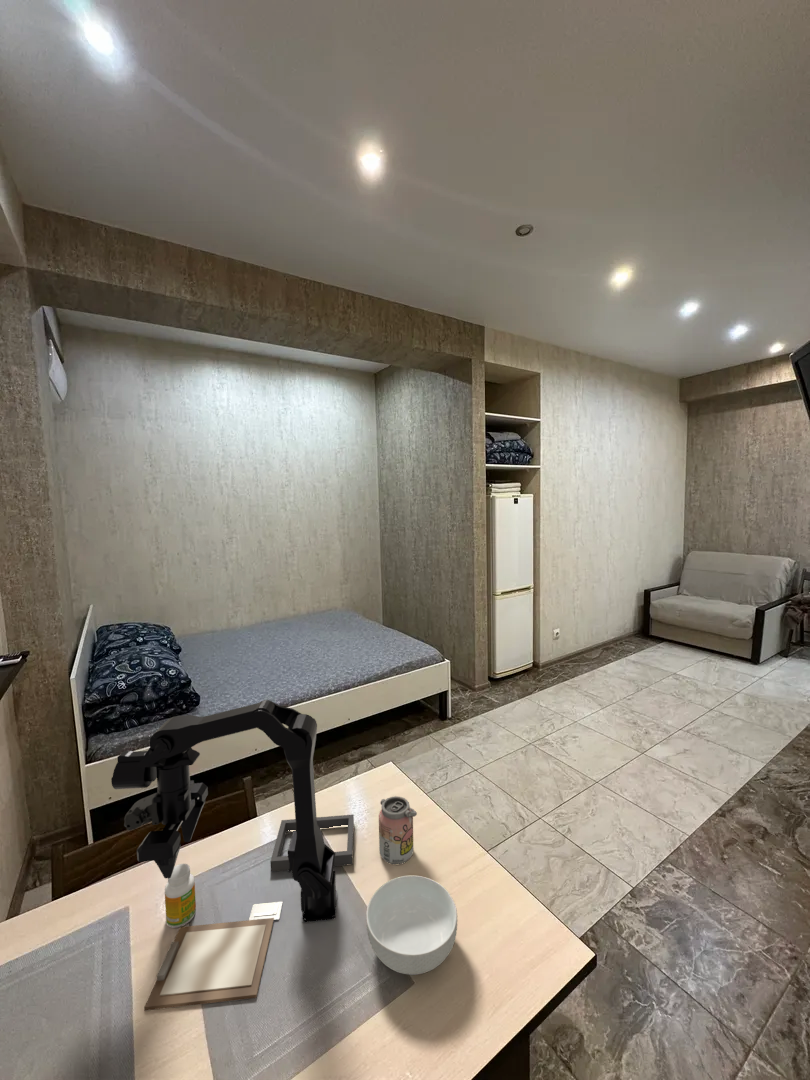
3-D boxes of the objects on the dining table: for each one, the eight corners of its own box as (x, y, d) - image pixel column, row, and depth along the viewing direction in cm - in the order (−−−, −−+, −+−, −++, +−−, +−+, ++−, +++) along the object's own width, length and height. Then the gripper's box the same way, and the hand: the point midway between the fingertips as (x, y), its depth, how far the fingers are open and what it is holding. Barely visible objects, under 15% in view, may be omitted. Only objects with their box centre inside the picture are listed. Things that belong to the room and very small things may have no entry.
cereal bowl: (465, 919, 87) (465, 886, 86) (445, 1010, 71) (445, 969, 71) (386, 896, 92) (385, 864, 92) (351, 975, 77) (350, 938, 76)
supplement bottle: (183, 931, 86) (181, 884, 85) (159, 926, 87) (157, 880, 86) (201, 906, 91) (199, 862, 90) (179, 902, 92) (176, 858, 91)
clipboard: (273, 920, 87) (273, 913, 87) (256, 997, 73) (256, 988, 73) (180, 929, 86) (179, 922, 86) (144, 1010, 72) (143, 1001, 72)
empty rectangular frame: (353, 823, 114) (353, 814, 114) (352, 864, 101) (351, 854, 101) (282, 829, 113) (281, 820, 113) (270, 871, 99) (270, 861, 99)
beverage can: (395, 832, 111) (394, 787, 110) (423, 847, 106) (422, 799, 105) (371, 856, 103) (370, 807, 103) (400, 873, 98) (399, 822, 98)
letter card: (282, 902, 91) (282, 901, 91) (279, 920, 88) (278, 918, 87) (253, 905, 91) (253, 903, 91) (248, 923, 87) (248, 921, 87)
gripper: (154, 760, 95) (158, 828, 96) (103, 820, 77) (108, 904, 78) (206, 756, 96) (210, 824, 97) (169, 814, 78) (174, 897, 79)
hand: (178, 858), depth 88 cm, fingers open, 9 cm apart
